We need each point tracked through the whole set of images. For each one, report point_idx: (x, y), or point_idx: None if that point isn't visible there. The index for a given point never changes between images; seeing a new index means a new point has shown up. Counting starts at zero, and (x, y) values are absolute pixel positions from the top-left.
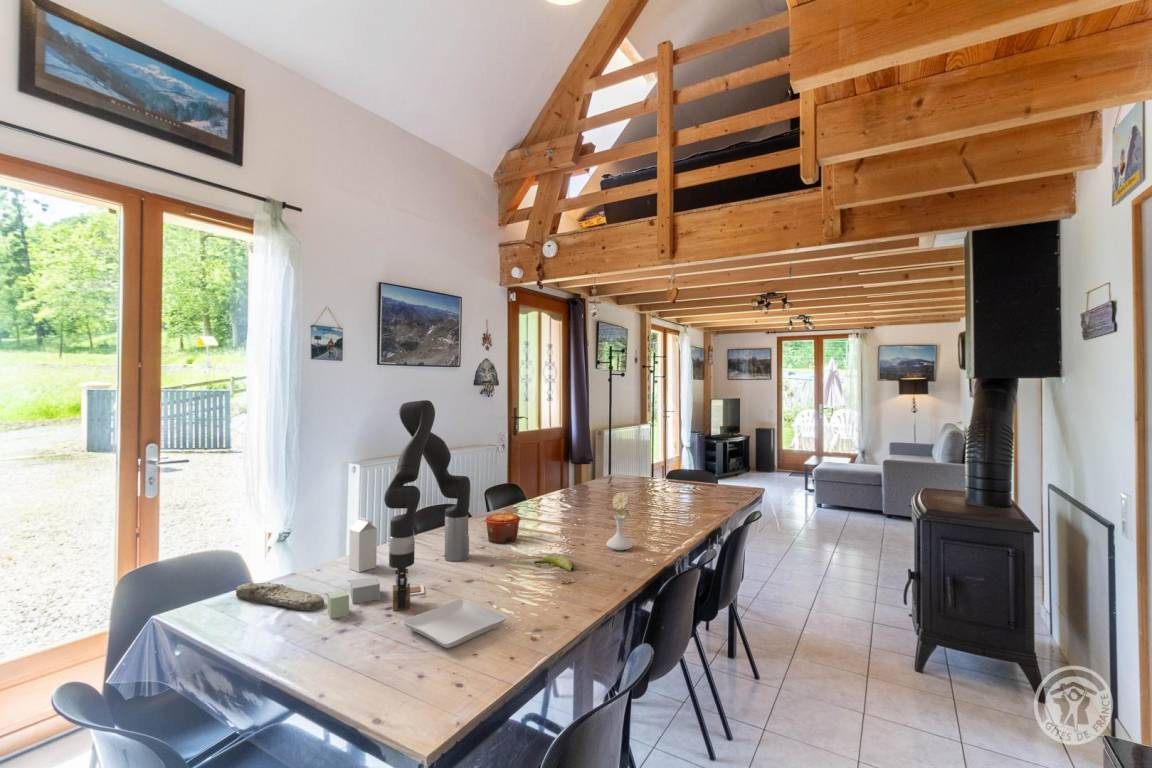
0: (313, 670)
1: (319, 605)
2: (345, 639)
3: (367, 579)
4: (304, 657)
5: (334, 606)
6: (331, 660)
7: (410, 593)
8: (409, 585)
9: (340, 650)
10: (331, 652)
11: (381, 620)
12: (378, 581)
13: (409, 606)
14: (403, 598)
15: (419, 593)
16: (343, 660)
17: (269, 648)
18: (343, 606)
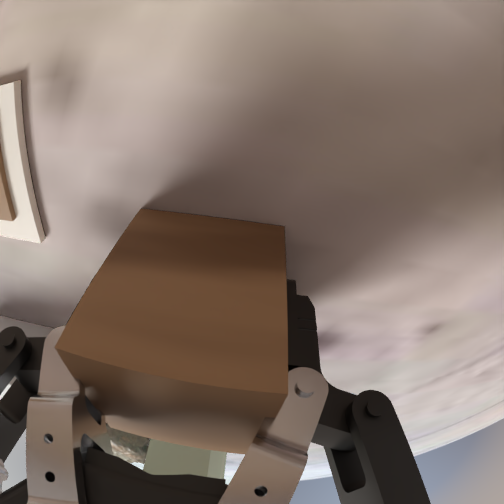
0: (468, 427)
1: (138, 440)
2: (404, 421)
3: (3, 394)
4: (411, 445)
5: (222, 469)
6: (467, 418)
7: (12, 190)
8: (133, 372)
9: (447, 417)
10: (438, 425)
11: (355, 367)
12: (10, 384)
13: (283, 241)
14: (316, 362)
15: (17, 123)
16: (489, 404)
17: (323, 469)
18: (216, 456)
